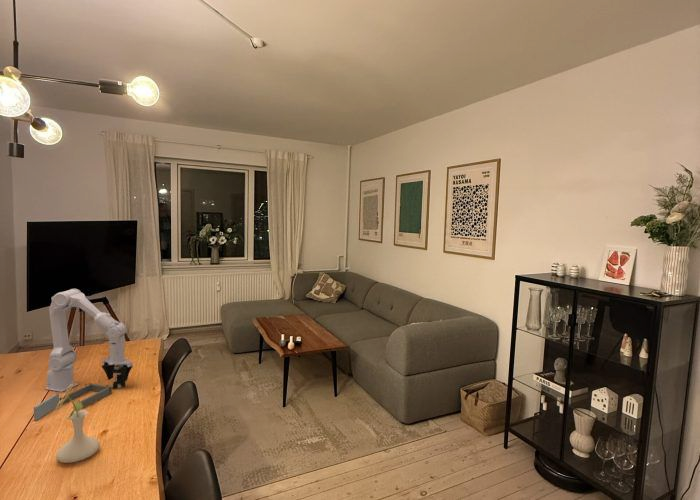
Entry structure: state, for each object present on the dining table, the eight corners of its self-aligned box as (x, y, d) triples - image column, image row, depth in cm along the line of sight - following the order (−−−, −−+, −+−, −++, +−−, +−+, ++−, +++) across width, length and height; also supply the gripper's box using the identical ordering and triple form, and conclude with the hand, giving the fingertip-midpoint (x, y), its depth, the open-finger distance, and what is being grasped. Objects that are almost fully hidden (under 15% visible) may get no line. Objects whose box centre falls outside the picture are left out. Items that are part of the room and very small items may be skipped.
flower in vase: (71, 444, 123) (70, 372, 121) (107, 444, 124) (106, 373, 122) (42, 470, 110) (40, 391, 108) (82, 470, 111) (81, 390, 109)
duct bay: (59, 405, 148) (59, 397, 148) (91, 390, 162) (91, 383, 162) (81, 409, 146) (81, 401, 145) (111, 393, 159) (111, 386, 159)
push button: (108, 391, 161) (108, 369, 160) (108, 386, 166) (108, 365, 165) (126, 388, 165) (125, 366, 164) (126, 383, 169) (125, 362, 168)
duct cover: (57, 404, 148) (56, 392, 148) (60, 404, 148) (59, 392, 148) (33, 420, 136) (33, 407, 136) (36, 420, 136) (36, 407, 136)
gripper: (95, 351, 162) (96, 381, 163) (123, 355, 158) (123, 385, 159) (109, 346, 169) (110, 375, 170) (136, 350, 165) (136, 379, 166)
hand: (117, 380), depth 165 cm, fingers open, 7 cm apart
